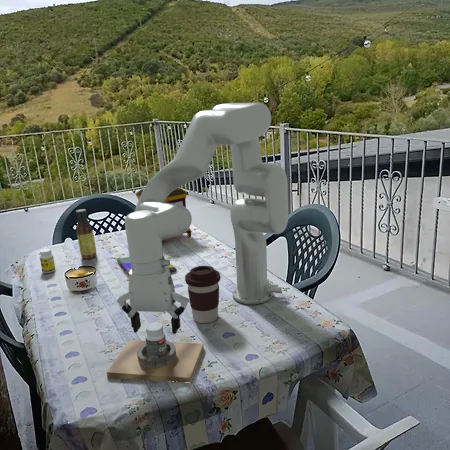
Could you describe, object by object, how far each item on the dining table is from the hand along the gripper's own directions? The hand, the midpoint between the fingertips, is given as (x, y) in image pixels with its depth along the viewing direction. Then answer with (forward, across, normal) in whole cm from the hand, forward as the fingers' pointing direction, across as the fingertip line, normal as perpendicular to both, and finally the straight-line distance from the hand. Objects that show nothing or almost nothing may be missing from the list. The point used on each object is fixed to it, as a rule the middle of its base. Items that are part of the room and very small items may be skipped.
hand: (156, 330), depth 107 cm
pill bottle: (+7, 0, +1) cm, 7 cm away
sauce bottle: (+10, +52, -68) cm, 87 cm away
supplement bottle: (+10, +62, -53) cm, 82 cm away
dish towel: (+11, +25, -59) cm, 65 cm away
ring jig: (+9, 0, +1) cm, 9 cm away
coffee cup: (+10, -6, -22) cm, 25 cm away
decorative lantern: (+11, +28, -93) cm, 98 cm away
